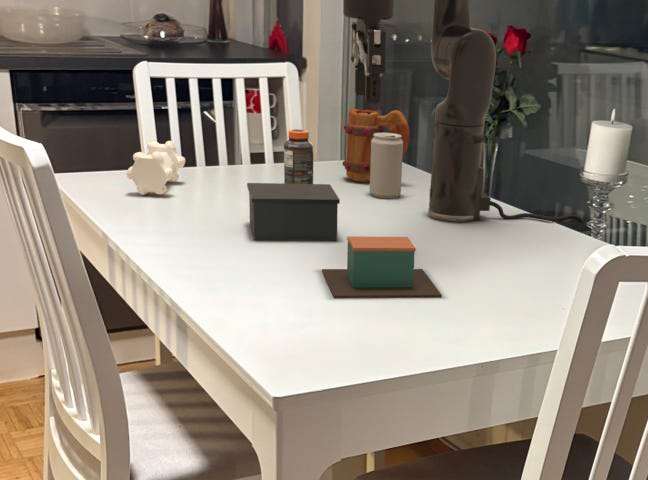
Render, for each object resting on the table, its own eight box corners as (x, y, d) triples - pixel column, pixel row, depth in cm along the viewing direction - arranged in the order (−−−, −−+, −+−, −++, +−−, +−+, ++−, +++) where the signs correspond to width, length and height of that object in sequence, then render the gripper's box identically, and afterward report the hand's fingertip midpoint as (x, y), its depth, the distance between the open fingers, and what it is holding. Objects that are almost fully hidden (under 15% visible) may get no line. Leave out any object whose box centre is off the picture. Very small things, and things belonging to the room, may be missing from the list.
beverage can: (382, 200, 195) (384, 138, 190) (363, 193, 200) (365, 132, 194) (406, 197, 199) (410, 136, 193) (387, 190, 203) (390, 130, 198)
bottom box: (329, 223, 176) (330, 184, 173) (338, 240, 167) (339, 199, 163) (248, 222, 173) (247, 182, 170) (252, 240, 163) (251, 198, 160)
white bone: (172, 198, 185) (169, 154, 181) (126, 195, 185) (122, 151, 181) (187, 181, 198) (185, 140, 194) (144, 179, 198) (141, 137, 194)
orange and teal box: (405, 275, 150) (407, 236, 147) (413, 287, 145) (415, 248, 142) (346, 275, 148) (347, 236, 145) (352, 288, 143) (353, 247, 140)
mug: (335, 180, 209) (336, 106, 202) (349, 174, 216) (351, 102, 208) (399, 189, 205) (402, 114, 198) (411, 182, 212) (415, 110, 205)
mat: (422, 271, 154) (422, 268, 154) (441, 297, 143) (441, 294, 143) (321, 271, 150) (321, 269, 150) (333, 298, 139) (333, 295, 139)
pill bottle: (315, 185, 203) (316, 129, 198) (310, 191, 198) (310, 133, 192) (287, 183, 203) (287, 126, 198) (281, 189, 198) (280, 131, 193)
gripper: (404, -14, 139) (400, 106, 147) (383, -19, 151) (381, 92, 159) (352, -16, 137) (351, 105, 145) (335, -21, 149) (335, 91, 157)
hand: (367, 98), depth 152 cm, fingers open, 8 cm apart
